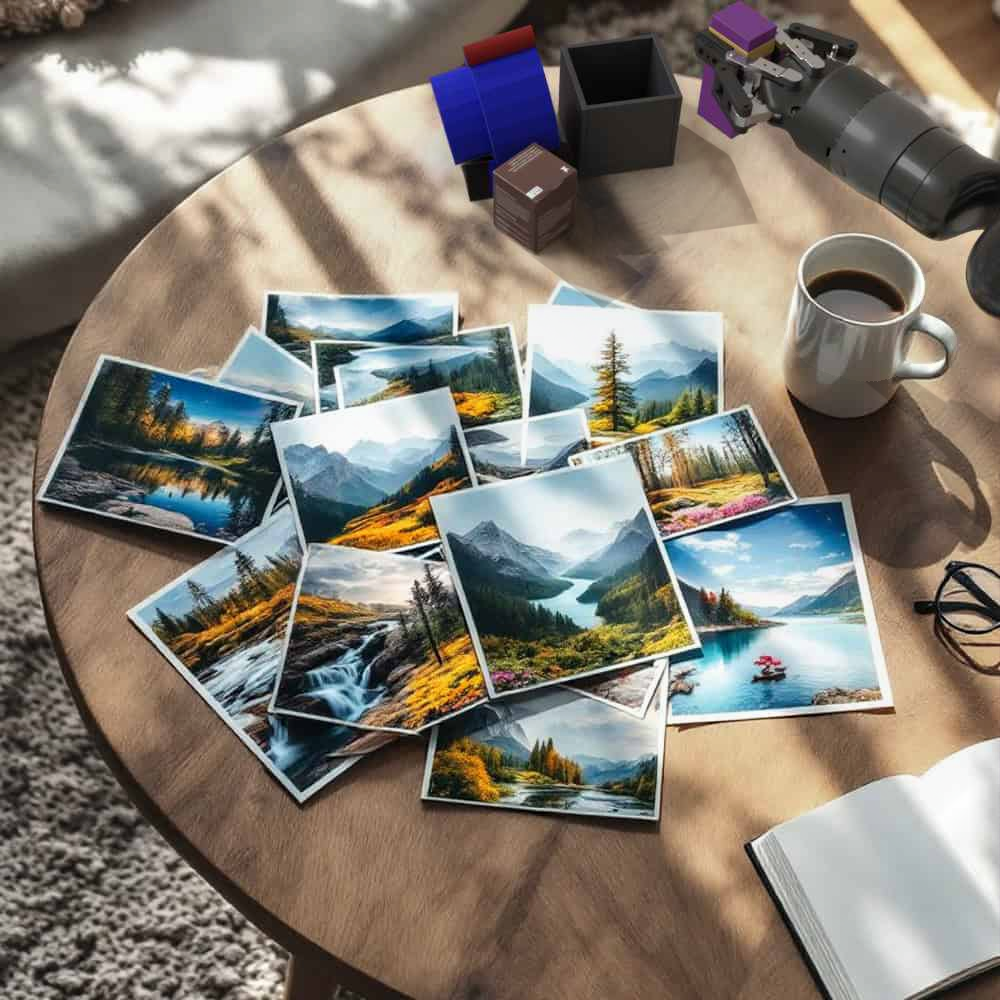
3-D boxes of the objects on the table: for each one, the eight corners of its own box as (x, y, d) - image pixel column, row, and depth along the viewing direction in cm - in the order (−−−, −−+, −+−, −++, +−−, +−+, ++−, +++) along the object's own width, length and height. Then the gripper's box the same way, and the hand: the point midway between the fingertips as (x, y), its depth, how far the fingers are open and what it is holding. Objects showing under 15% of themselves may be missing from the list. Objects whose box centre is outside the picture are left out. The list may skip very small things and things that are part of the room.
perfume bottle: (722, 98, 111) (739, -1, 103) (758, 124, 109) (778, 25, 101) (695, 113, 110) (710, 14, 102) (731, 140, 108) (749, 41, 100)
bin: (649, 102, 136) (657, 33, 129) (673, 165, 130) (683, 96, 123) (557, 114, 135) (560, 45, 128) (578, 178, 130) (582, 110, 122)
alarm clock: (565, 185, 129) (571, 63, 116) (449, 204, 127) (443, 83, 115) (537, 109, 135) (539, -14, 123) (426, 127, 134) (417, 4, 122)
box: (534, 196, 128) (535, 140, 122) (576, 225, 126) (579, 170, 120) (491, 226, 126) (490, 170, 120) (534, 256, 123) (535, 201, 117)
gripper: (942, 60, 97) (782, -43, 104) (815, 136, 92) (657, 23, 99) (916, 137, 103) (767, 34, 110) (795, 212, 98) (648, 100, 106)
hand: (716, 30), depth 105 cm, fingers closed on perfume bottle, 3 cm apart
